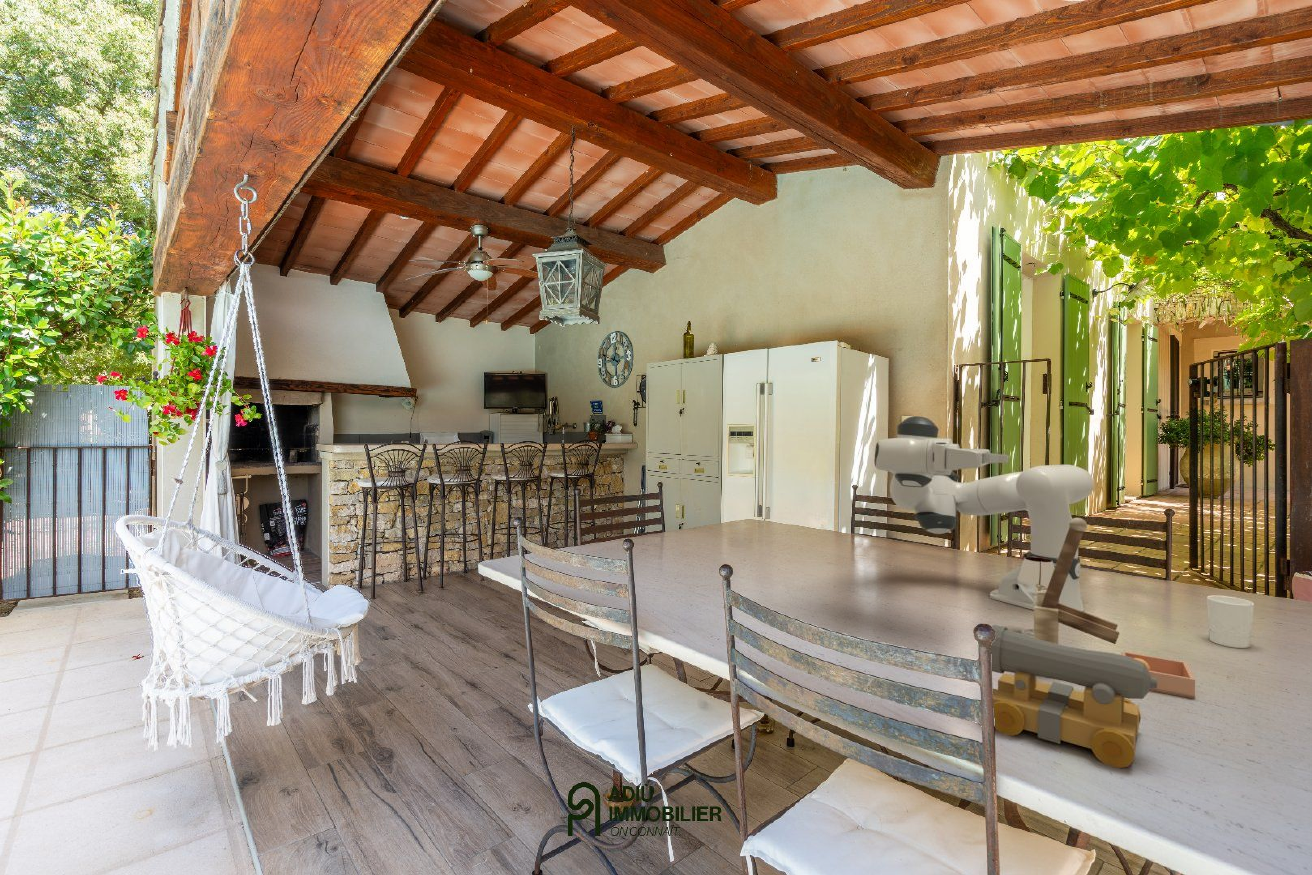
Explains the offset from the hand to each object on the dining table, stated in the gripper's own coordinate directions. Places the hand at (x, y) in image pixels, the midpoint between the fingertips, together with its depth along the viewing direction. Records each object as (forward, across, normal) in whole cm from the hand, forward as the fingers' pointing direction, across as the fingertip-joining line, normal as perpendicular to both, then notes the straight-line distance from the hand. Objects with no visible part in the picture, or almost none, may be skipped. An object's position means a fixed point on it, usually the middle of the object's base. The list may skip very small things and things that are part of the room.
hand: (1008, 458), depth 141 cm
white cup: (+43, -28, -42) cm, 66 cm away
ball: (+24, +10, -40) cm, 47 cm away
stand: (+8, +10, -42) cm, 44 cm away
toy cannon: (+12, +43, -42) cm, 62 cm away
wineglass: (+6, -8, -42) cm, 43 cm away
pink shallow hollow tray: (+26, +10, -42) cm, 51 cm away
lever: (+13, +10, -33) cm, 37 cm away
